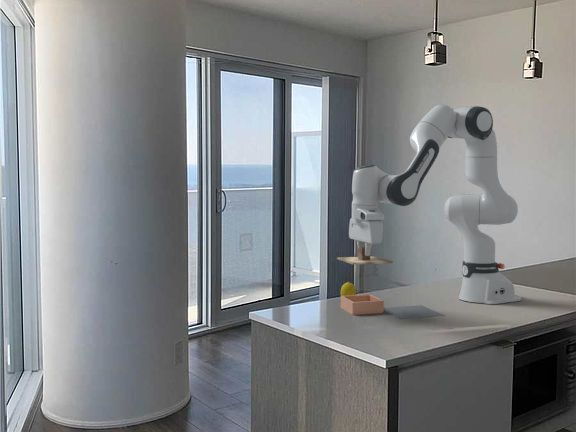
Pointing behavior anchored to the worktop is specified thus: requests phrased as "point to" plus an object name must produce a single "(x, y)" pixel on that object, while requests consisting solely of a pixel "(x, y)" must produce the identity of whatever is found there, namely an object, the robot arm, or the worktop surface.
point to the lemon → (348, 289)
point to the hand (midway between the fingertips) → (364, 254)
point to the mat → (412, 312)
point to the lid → (363, 258)
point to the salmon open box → (362, 304)
